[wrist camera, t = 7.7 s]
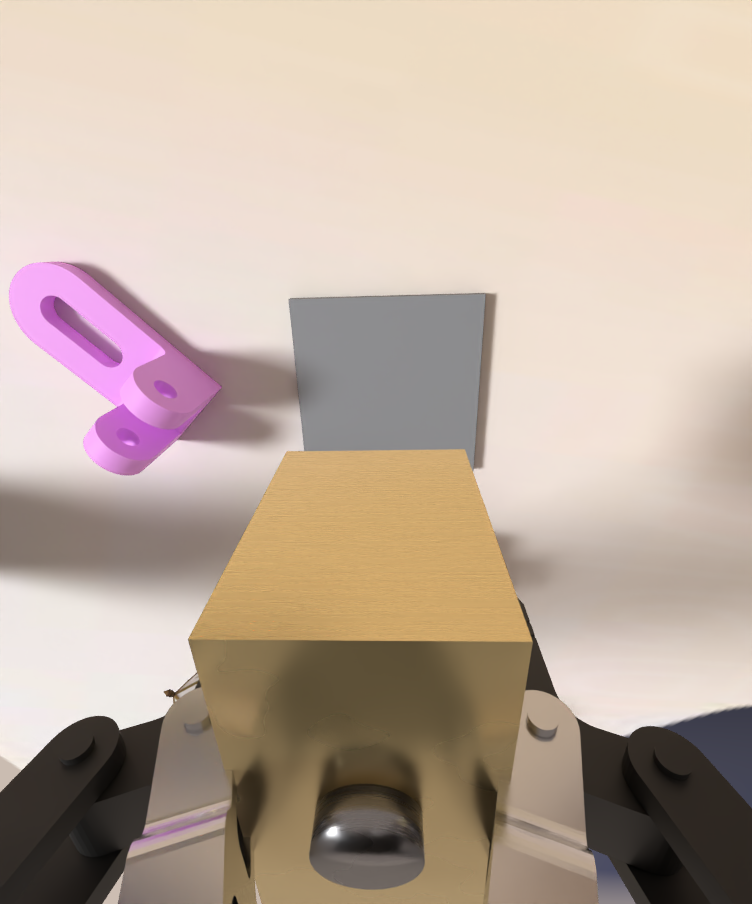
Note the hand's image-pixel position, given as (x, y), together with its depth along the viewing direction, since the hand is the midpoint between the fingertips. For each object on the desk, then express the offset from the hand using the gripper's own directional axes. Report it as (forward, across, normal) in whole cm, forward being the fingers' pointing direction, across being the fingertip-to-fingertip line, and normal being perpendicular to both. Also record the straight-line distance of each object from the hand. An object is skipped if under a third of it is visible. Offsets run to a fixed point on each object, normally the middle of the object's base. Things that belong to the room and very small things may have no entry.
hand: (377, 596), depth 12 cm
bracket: (+20, +18, -3) cm, 27 cm away
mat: (+20, 0, 0) cm, 20 cm away
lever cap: (+1, 0, 0) cm, 1 cm away
